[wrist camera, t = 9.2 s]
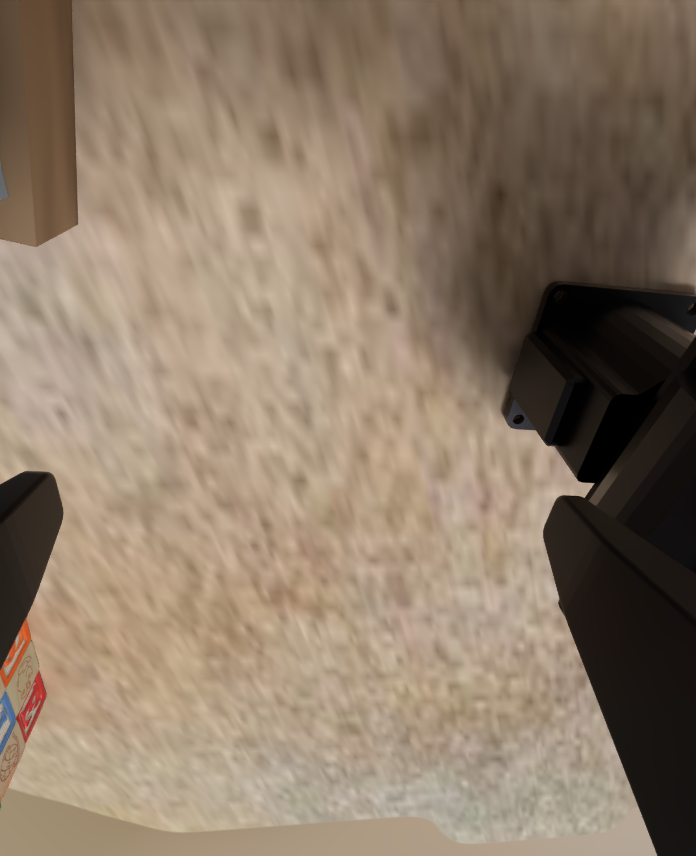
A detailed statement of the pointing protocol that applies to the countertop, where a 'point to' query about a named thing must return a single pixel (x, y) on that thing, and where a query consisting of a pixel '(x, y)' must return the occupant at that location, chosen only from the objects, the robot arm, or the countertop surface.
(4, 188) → the slate cube
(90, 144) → the countertop surface
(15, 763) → the stack of blocks
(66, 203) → the walnut slab
